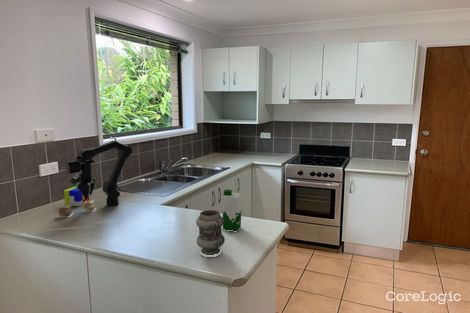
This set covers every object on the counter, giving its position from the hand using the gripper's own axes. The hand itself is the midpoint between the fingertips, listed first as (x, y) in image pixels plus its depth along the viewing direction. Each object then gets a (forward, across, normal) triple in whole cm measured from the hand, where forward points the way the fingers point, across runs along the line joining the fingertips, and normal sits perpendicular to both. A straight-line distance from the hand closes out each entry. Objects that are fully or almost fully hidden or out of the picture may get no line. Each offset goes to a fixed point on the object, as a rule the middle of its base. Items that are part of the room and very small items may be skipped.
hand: (88, 197), depth 197 cm
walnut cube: (+8, +7, -11) cm, 15 cm away
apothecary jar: (+9, +67, +66) cm, 94 cm away
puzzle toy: (+9, -16, -11) cm, 21 cm away
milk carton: (+9, +42, +79) cm, 90 cm away
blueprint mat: (+8, +4, -6) cm, 11 cm away
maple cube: (+8, 0, 0) cm, 8 cm away
